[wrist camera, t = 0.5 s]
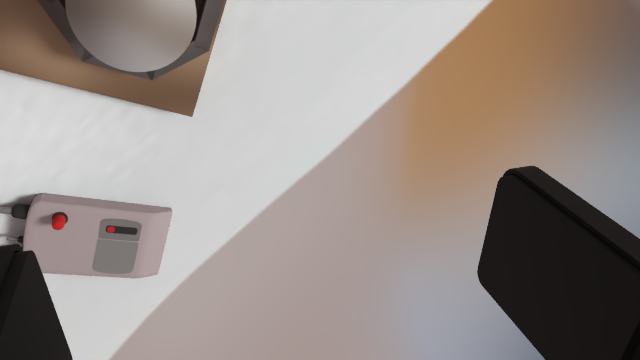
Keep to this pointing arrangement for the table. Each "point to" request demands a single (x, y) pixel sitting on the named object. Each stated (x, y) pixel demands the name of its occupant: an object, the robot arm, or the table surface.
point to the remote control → (93, 235)
